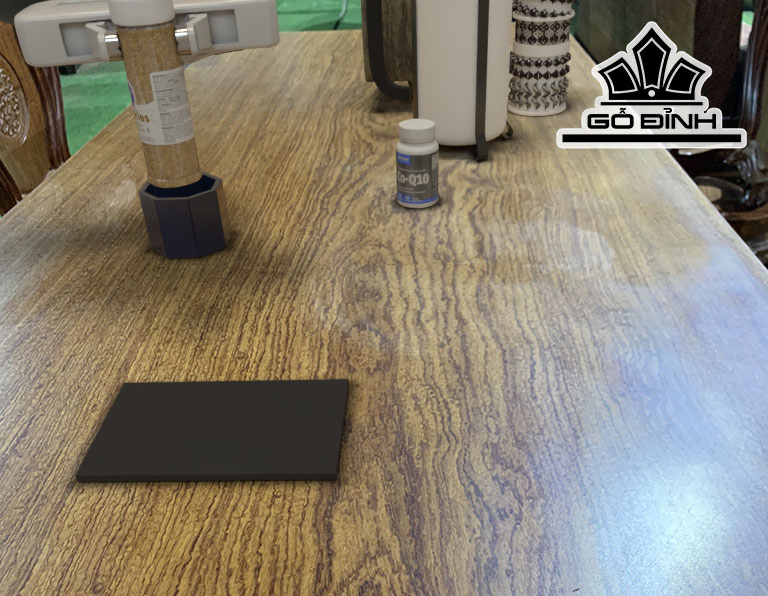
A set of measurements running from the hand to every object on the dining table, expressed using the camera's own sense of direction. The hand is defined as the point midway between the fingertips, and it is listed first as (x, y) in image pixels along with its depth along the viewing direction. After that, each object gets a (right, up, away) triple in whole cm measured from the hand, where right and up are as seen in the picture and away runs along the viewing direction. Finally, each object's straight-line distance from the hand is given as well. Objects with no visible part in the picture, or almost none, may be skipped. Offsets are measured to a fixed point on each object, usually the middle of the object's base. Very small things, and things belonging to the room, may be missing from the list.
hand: (149, 45), depth 61 cm
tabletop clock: (+20, +28, +65) cm, 74 cm away
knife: (+39, +43, +81) cm, 99 cm away
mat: (+5, -28, 0) cm, 29 cm away
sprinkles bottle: (0, -7, +7) cm, 10 cm away
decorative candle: (+40, +24, +60) cm, 76 cm away
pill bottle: (+21, +1, +33) cm, 40 cm away
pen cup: (-3, -6, +27) cm, 28 cm away
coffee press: (+26, +14, +48) cm, 57 cm away
